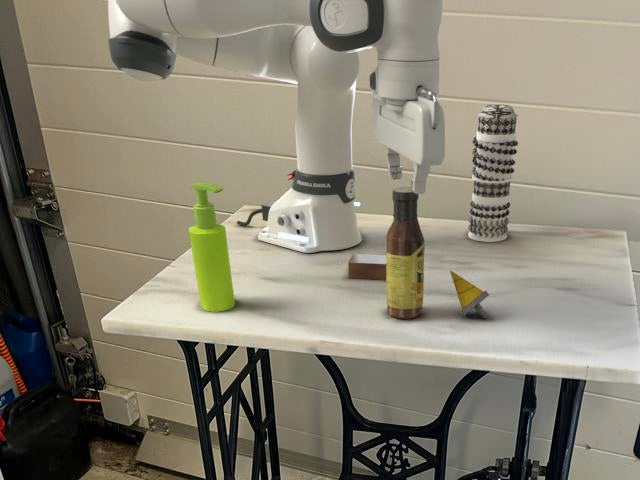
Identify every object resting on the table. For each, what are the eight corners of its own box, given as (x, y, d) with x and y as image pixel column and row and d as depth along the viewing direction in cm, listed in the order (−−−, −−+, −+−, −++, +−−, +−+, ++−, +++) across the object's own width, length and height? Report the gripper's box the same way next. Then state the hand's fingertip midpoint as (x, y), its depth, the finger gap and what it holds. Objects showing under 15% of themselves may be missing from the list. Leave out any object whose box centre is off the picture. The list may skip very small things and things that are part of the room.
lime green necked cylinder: (223, 315, 124) (206, 190, 112) (193, 307, 127) (173, 184, 115) (246, 304, 128) (231, 182, 116) (216, 296, 131) (199, 177, 119)
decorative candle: (482, 245, 154) (493, 111, 139) (458, 233, 160) (465, 104, 145) (517, 238, 157) (531, 107, 142) (491, 227, 164) (503, 101, 149)
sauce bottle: (424, 320, 122) (428, 194, 110) (387, 321, 122) (387, 195, 110) (420, 305, 127) (424, 184, 116) (385, 306, 127) (384, 184, 115)
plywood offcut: (348, 278, 138) (348, 262, 136) (352, 269, 142) (352, 253, 140) (390, 280, 137) (390, 264, 135) (393, 271, 141) (393, 255, 139)
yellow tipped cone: (474, 328, 121) (437, 279, 120) (473, 329, 126) (438, 282, 125) (500, 307, 120) (463, 258, 118) (498, 309, 125) (462, 262, 124)
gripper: (459, 91, 97) (453, 200, 105) (402, 72, 112) (401, 169, 121) (415, 93, 95) (412, 204, 104) (364, 74, 110) (365, 172, 119)
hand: (406, 185), depth 112 cm, fingers open, 8 cm apart
